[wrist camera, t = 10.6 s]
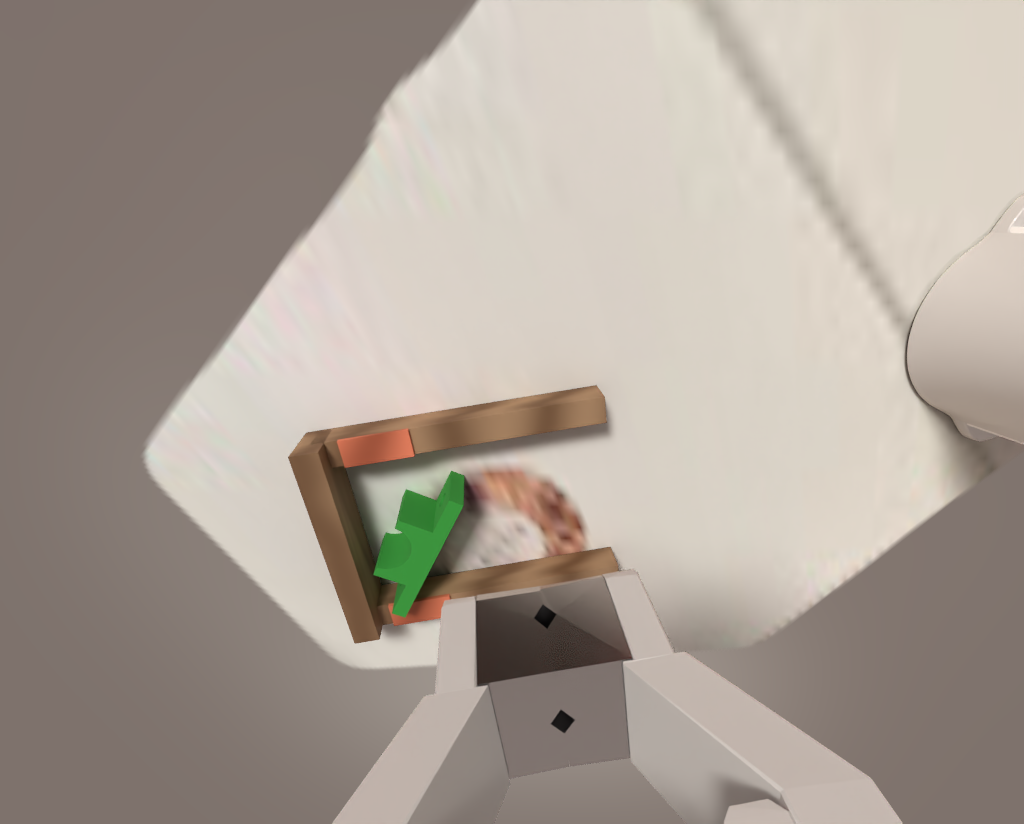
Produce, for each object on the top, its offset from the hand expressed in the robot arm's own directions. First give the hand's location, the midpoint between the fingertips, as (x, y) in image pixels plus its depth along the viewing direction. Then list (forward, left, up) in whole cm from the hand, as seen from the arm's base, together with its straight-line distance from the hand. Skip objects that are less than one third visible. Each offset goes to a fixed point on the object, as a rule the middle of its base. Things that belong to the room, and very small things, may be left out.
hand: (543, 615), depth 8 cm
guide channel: (+3, +16, -29) cm, 33 cm away
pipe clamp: (+9, +17, -30) cm, 35 cm away
